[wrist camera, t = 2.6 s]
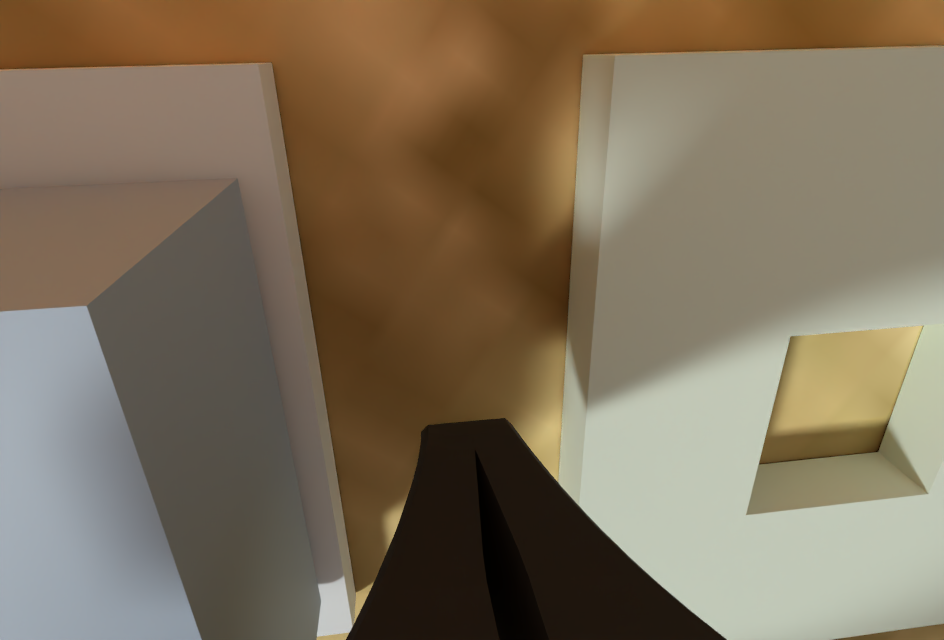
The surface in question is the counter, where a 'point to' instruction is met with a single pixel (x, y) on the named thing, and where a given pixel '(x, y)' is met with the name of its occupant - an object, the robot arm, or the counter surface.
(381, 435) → the counter surface
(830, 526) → the socket board
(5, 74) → the base
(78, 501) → the block
